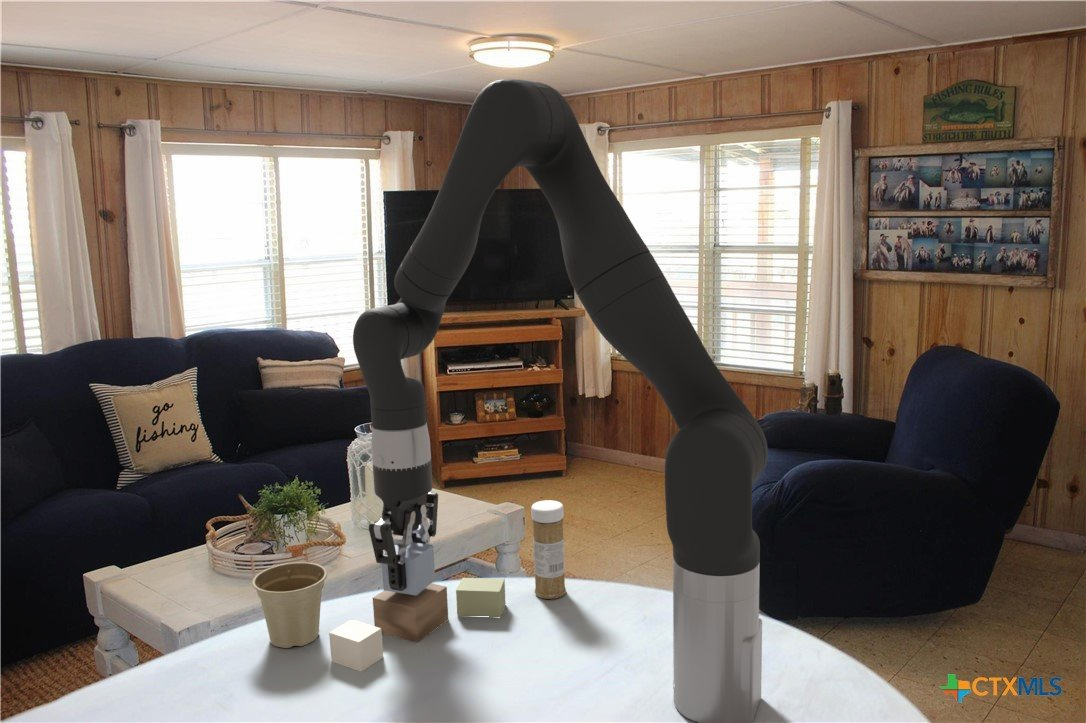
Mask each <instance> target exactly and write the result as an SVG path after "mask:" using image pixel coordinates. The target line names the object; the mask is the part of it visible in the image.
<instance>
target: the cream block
mask: <svg viewBox="0 0 1086 723" xmlns="http://www.w3.org/2000/svg"><path fill="white" fill-rule="evenodd" d="M328 635H329V650H330V659H331V662H333V663H335V664H338V665H341V666H344V667H347V668H350V669H352V670H355V671H358V672H362V671H364V670H366V669H367V668H368V667H370V666H372V665H373V664H375V663H376V662H378V661H380V660H381V659H382V658H384V649H383V634H382V632H381V628H378V627H375V625H372V624H369V623H365V622H362V621H360V620H356V619H350V620H348V621H347V622H345V623H343V624H342V625H339V626H338V627H336V628H334V629H332V630H331V631H330V632H328Z"/></svg>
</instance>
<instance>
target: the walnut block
mask: <svg viewBox="0 0 1086 723" xmlns="http://www.w3.org/2000/svg"><path fill="white" fill-rule="evenodd" d="M372 607H373V620H374V621H373V622H374V626H375V627H378V628H381V632H382V635H386V636H391V637H395V638H397V639H398V638H399V639H402V640H405V641H409V642H413V643H419V642H420V641H422V640H423V639H425V638H426V637H428V636H429V635H430V634H431V633H433V632H434V631H436V630H437V629H438V628H440V627H441V626H442V625H443V624H445V623H446V622H448V621H447V620H449V608H448V607H449V606H448V588H447V586H445V585H441V584H436V583H434V582H432V583H431V584H430V585H428V586H427V587H426V588H425V589H424V590H422V591H421V592H420V593H419V594H418V595H410V594H404V593H398V592H391V591H385V590H382V591H381V592H380V593H378V594H376V595H375V596H373V597H372ZM445 621H446V622H445ZM444 622H445V623H444ZM441 624H442V625H441ZM440 625H441V626H440ZM437 627H438V628H437ZM436 628H437V629H436ZM432 631H433V632H432Z"/></svg>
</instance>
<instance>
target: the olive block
mask: <svg viewBox="0 0 1086 723" xmlns="http://www.w3.org/2000/svg"><path fill="white" fill-rule="evenodd" d="M505 581H506V580H505V578H484V577H483V578H481V577H479V578H478V577H477V578H476V577H475V578H474V577H462V578H461V580H460V582H459V583H458V586H457V587H456V590H455V594H456V615H457V616H489V617H501V618H502V616H501V614H502V615H503V613H502V612H504V610H505V608H504V606H505V607H506V605H505V604H506V582H505ZM503 609H504V610H503Z"/></svg>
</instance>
